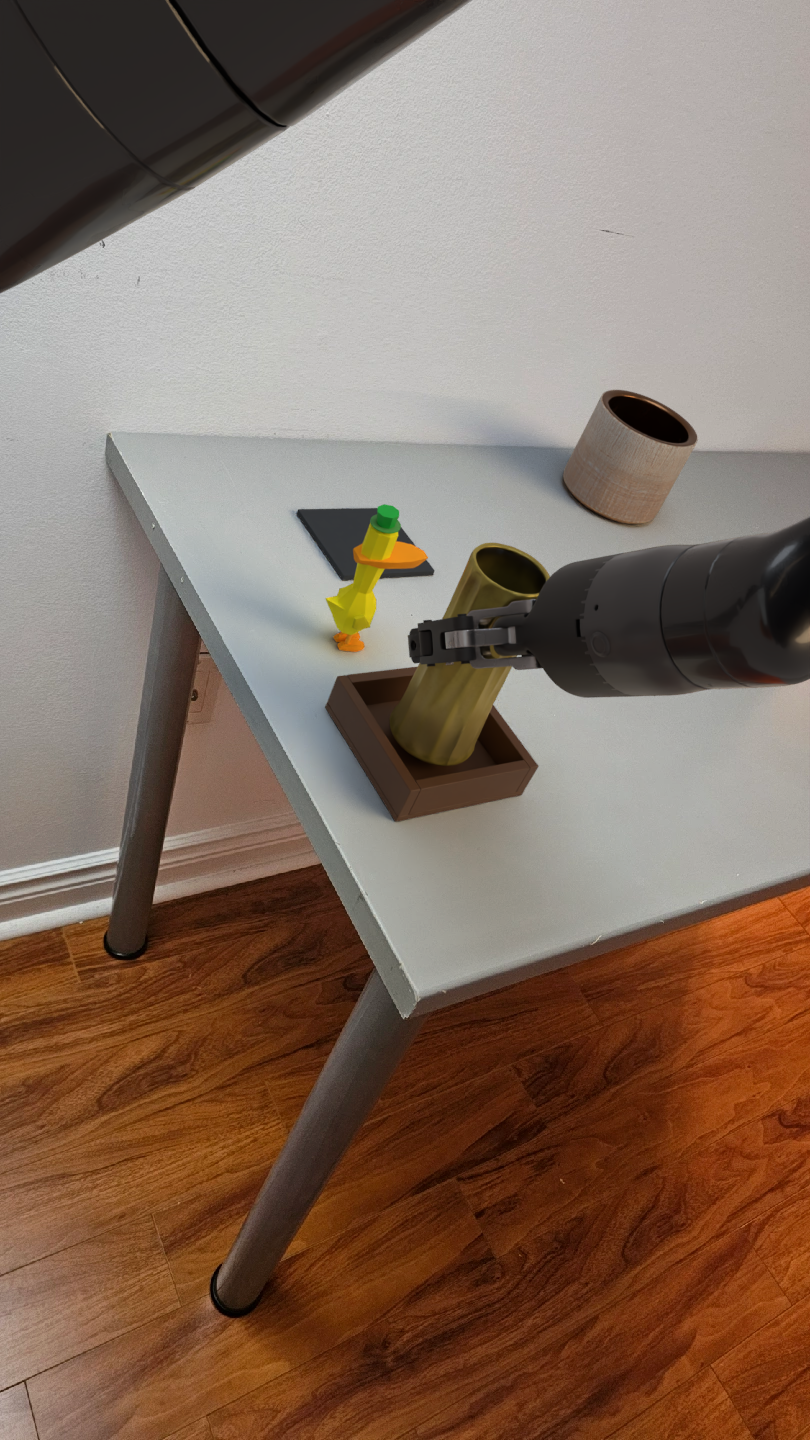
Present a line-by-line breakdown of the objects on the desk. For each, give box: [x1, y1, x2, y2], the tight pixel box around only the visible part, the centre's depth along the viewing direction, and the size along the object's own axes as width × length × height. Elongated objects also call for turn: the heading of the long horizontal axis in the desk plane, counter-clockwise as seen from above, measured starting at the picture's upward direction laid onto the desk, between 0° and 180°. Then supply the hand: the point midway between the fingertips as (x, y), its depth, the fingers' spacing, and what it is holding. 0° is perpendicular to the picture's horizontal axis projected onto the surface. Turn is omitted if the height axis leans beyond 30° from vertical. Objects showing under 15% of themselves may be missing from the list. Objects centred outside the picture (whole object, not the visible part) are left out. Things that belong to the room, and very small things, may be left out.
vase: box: [389, 542, 551, 766], centre depth 68 cm, size 6×6×14 cm
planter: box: [562, 389, 699, 525], centre depth 109 cm, size 11×11×10 cm
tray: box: [324, 666, 539, 823], centre depth 72 cm, size 11×11×3 cm
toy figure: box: [324, 503, 429, 653], centre depth 75 cm, size 7×4×12 cm, turn 114°
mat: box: [296, 507, 436, 581], centre depth 90 cm, size 9×9×1 cm
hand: (453, 643), depth 69 cm, fingers closed on vase, 5 cm apart
